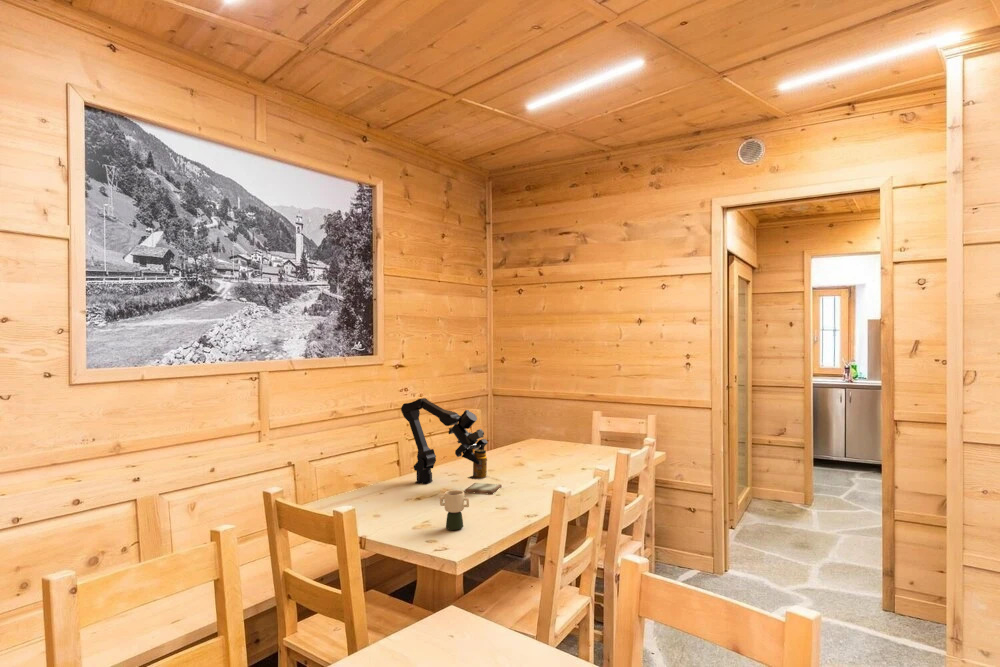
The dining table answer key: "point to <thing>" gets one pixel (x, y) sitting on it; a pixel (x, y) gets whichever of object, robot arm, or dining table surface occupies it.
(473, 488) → the plinth
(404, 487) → the dining table surface
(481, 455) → the condiment
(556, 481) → the dining table surface
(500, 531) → the dining table surface
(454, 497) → the character mug
